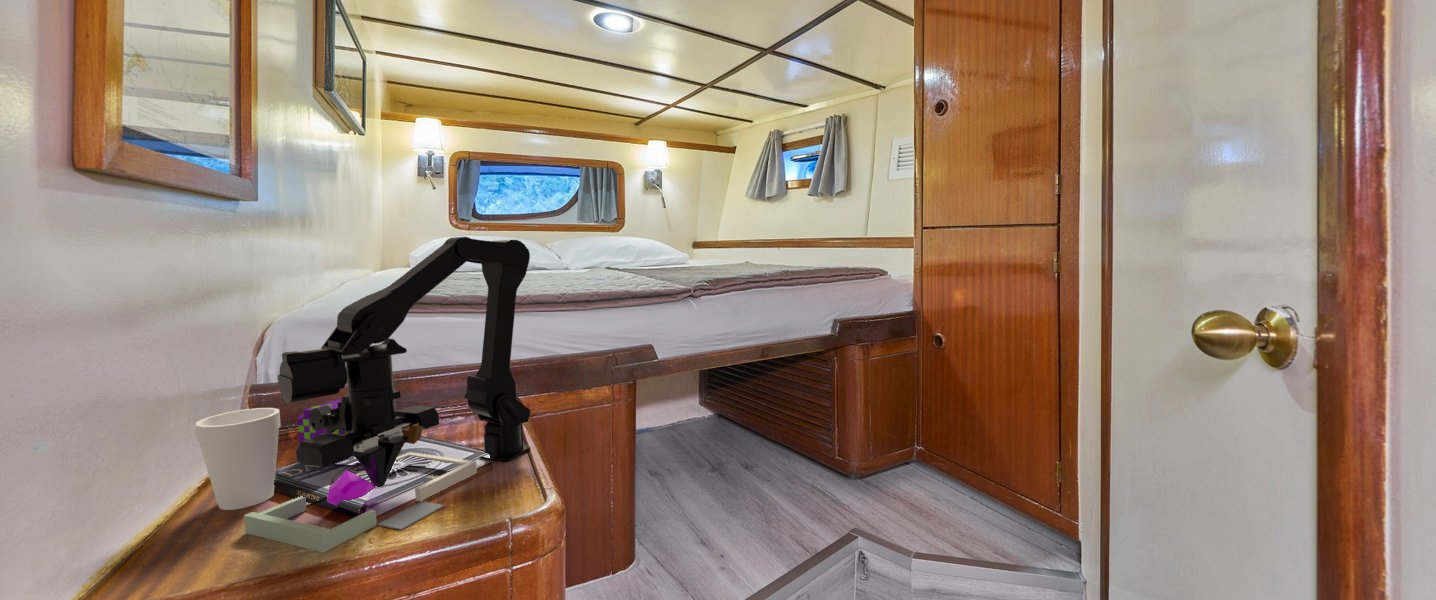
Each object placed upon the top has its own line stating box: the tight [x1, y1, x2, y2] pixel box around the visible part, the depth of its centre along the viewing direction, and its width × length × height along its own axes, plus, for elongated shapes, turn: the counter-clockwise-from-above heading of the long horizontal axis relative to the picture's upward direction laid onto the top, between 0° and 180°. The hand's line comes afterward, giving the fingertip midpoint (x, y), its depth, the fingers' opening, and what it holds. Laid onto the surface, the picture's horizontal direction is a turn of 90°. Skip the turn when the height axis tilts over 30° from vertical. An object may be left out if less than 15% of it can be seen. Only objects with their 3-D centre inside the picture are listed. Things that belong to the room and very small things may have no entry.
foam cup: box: [194, 407, 282, 511], centre depth 79 cm, size 10×9×13 cm
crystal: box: [326, 469, 376, 506], centre depth 77 cm, size 5×5×5 cm
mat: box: [377, 500, 445, 531], centre depth 74 cm, size 7×4×1 cm, turn 161°
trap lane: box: [243, 451, 478, 553], centre depth 79 cm, size 25×15×2 cm, turn 161°
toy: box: [297, 398, 423, 457], centre depth 96 cm, size 10×11×20 cm
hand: (379, 487), depth 80 cm, fingers closed
